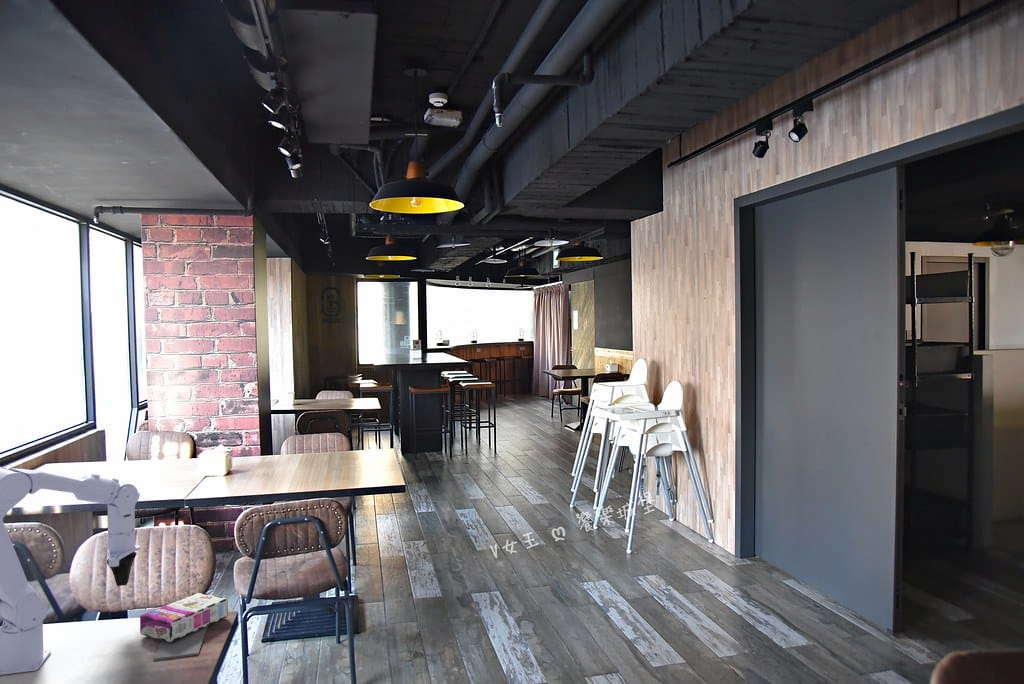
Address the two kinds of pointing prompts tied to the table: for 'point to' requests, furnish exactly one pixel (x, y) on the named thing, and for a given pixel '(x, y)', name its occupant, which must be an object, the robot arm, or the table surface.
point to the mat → (181, 646)
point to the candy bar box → (183, 617)
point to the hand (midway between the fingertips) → (122, 584)
